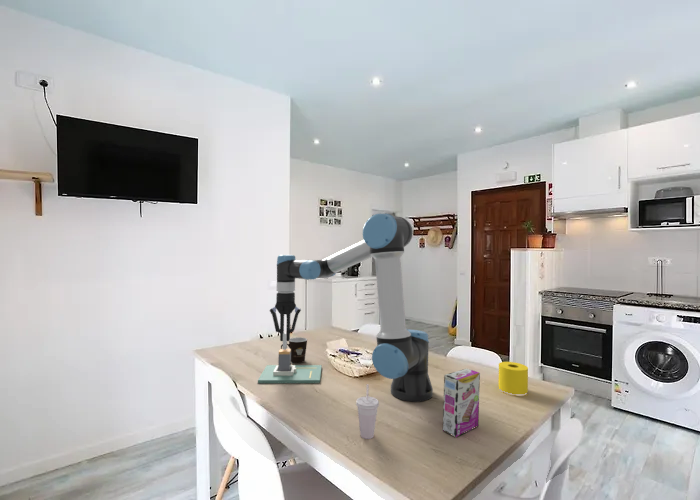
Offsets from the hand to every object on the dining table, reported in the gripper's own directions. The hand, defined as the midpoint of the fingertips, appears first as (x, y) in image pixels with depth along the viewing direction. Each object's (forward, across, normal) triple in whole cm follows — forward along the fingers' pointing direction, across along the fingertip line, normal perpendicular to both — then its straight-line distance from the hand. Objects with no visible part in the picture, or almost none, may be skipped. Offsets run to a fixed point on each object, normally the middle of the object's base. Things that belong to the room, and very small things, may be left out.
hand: (284, 348), depth 145 cm
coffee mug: (+11, -2, -19) cm, 22 cm away
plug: (+10, 0, 0) cm, 10 cm away
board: (+11, -3, 0) cm, 11 cm away
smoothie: (+11, -30, +48) cm, 58 cm away
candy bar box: (+11, -58, +45) cm, 74 cm away
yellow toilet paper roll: (+11, -88, +17) cm, 90 cm away
